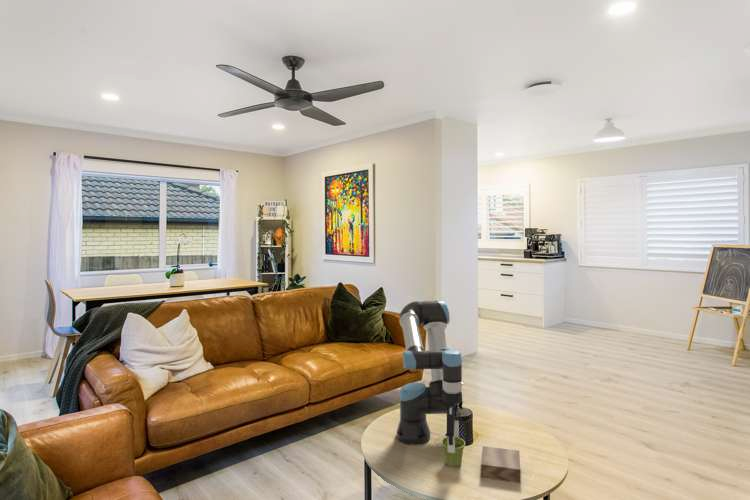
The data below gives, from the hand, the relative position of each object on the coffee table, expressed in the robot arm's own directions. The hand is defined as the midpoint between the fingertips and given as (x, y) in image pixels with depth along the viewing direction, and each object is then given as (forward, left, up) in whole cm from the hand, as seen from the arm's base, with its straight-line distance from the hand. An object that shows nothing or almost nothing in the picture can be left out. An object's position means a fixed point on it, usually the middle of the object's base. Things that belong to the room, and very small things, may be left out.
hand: (453, 444), depth 168 cm
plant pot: (0, 0, -8) cm, 8 cm away
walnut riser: (+18, 0, -8) cm, 20 cm away
